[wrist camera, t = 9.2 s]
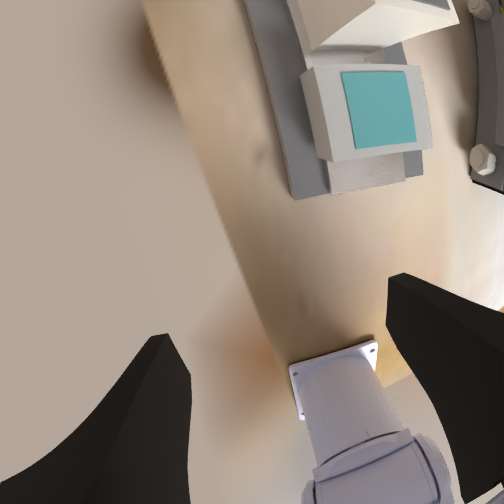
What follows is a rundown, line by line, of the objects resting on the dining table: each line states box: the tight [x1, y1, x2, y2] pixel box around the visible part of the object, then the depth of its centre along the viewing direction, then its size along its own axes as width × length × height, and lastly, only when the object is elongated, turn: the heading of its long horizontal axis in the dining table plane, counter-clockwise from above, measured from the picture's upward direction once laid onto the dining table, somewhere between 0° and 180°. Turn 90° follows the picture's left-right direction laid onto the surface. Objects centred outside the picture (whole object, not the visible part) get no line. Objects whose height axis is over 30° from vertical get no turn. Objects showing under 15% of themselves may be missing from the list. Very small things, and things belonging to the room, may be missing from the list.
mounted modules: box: [300, 64, 433, 163], centre depth 9 cm, size 16×6×2 cm, turn 13°
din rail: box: [283, 0, 405, 195], centre depth 11 cm, size 21×5×1 cm, turn 13°
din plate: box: [243, 0, 423, 200], centre depth 11 cm, size 21×9×1 cm, turn 13°
